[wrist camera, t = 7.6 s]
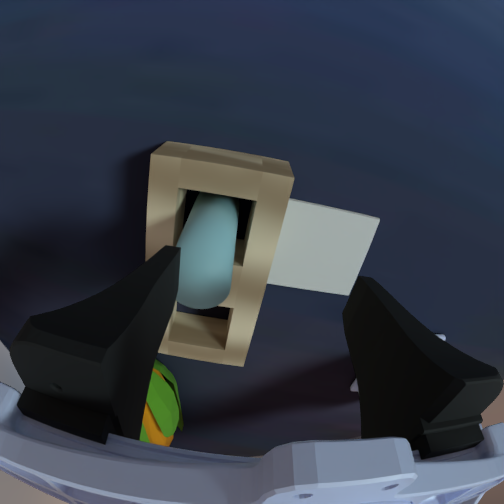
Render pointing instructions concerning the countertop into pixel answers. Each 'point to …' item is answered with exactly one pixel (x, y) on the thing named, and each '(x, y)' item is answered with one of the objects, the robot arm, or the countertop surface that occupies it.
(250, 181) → the hole block
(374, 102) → the countertop surface
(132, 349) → the robot arm
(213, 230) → the peg
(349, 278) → the mat
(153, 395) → the corn
